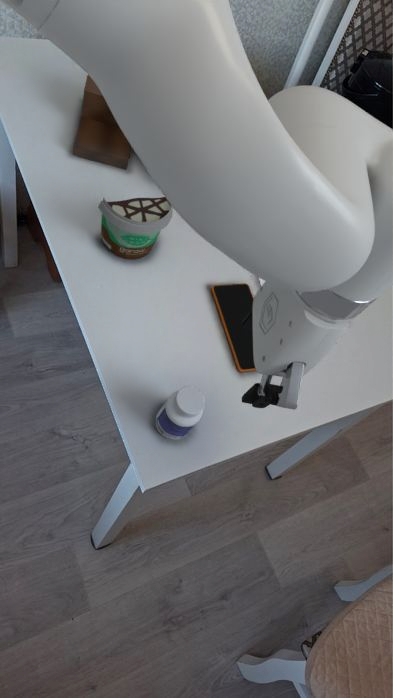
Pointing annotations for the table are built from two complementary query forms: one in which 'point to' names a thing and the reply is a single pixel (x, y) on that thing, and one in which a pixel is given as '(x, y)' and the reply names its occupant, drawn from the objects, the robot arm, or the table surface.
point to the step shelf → (100, 131)
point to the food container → (133, 225)
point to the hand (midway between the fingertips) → (253, 363)
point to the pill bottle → (180, 412)
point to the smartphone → (236, 321)
